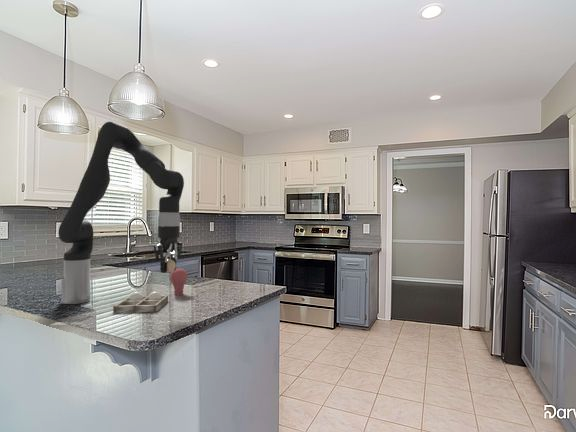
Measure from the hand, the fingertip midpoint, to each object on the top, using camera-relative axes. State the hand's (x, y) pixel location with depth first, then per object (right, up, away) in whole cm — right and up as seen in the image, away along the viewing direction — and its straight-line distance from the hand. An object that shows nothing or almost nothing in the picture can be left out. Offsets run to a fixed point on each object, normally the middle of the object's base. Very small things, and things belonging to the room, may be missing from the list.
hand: (168, 271), depth 124 cm
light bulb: (-3, -15, +22) cm, 27 cm away
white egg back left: (-15, -14, +7) cm, 21 cm away
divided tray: (-11, -15, +3) cm, 19 cm away
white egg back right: (-8, -14, +7) cm, 17 cm away
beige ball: (0, 0, 0) cm, 0 cm away
